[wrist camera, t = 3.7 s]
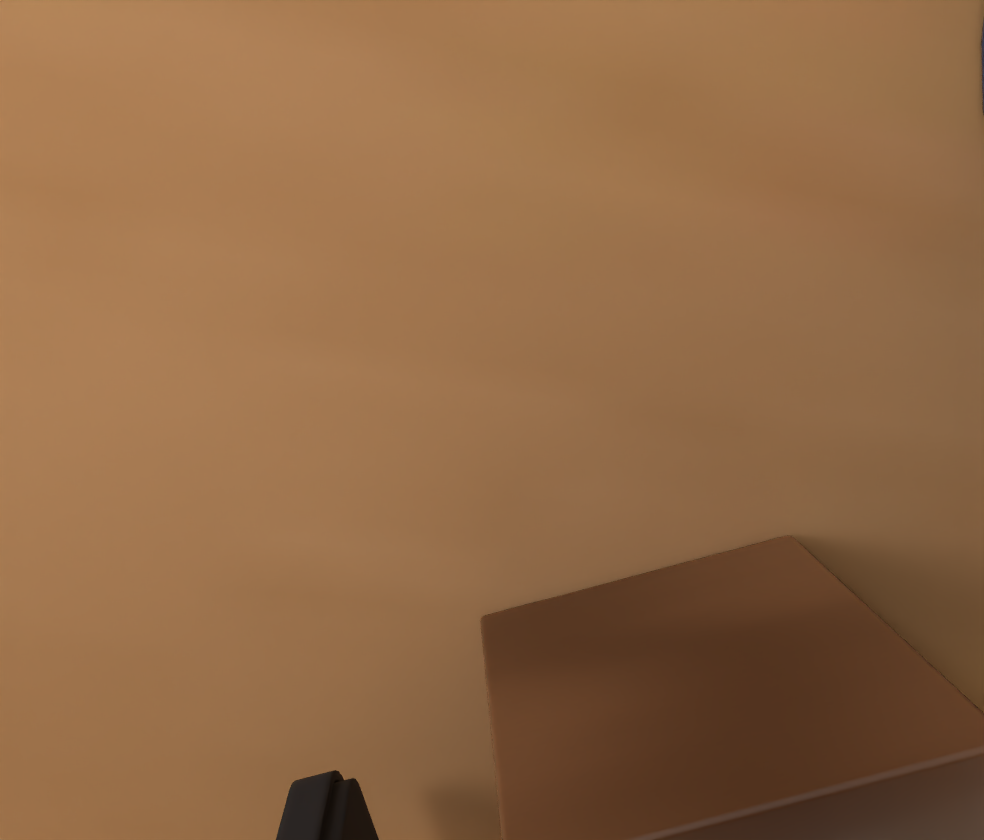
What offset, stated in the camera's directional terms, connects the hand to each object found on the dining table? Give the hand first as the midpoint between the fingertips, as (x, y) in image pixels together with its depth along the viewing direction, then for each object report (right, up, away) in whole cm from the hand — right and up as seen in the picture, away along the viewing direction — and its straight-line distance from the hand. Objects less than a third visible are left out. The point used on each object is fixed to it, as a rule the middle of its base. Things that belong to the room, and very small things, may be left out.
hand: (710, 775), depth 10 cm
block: (0, 0, +1) cm, 1 cm away
